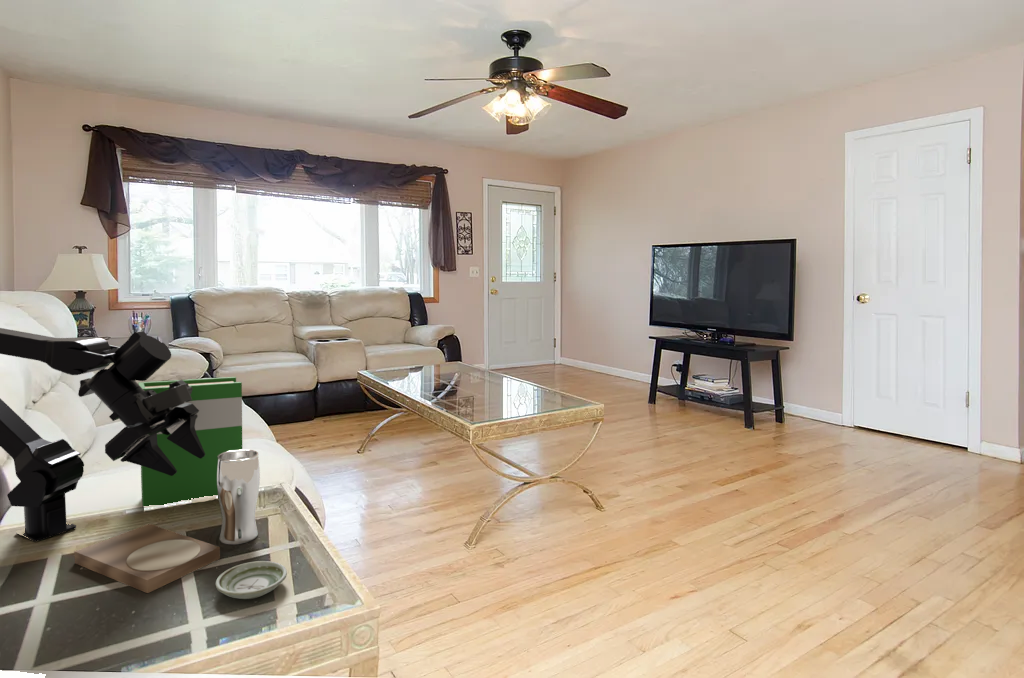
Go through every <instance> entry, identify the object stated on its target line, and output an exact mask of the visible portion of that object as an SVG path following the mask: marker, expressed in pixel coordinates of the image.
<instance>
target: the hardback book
mask: <svg viewBox="0 0 1024 678" xmlns="http://www.w3.org/2000/svg"><path fill="white" fill-rule="evenodd" d="M179 380H180V379H175V380H160V381H159V380H158V381H157V380H156V381H138V382H137V383H138V384H139V385H140V387H141V388H142V389H143V390H144V391H146V390H150V389H151V390H154V391H155V392H156V393H157V394H158V393H160V392H163V391H166V390H168V389H169V384H171V383H174V382H176V381H179ZM182 380H183V381H184V382H185V383H188V385H189V387H192V388H193V391H192V393H191V398H192V400H191V401H189V402H184V403H192V404H193V405H194V406H195V407H196V408H197V409H198V410H199V412H198V413H197V415H198V418H197V419H196V421H195V430H196V433H197V436H198V438H199V440H200V443H201V445H202V447H203V450H204V452H205V456H204V457H203V458H201V459H200V458H198V457H196V456H194V455H192V454H191V453H189V452H188V451H186V450H184V449H183V448H181V447H179V446H178V445H176V444H174V443H173V442H171V441H169V440H168V439H167V437H168V436H169V435H165V434H162V433H161V432H159V433H157V444H158V446H159V448H160V449H161V450H162V451H163V453H164V454H165V455H166V456H167V458H168V459H169V460H170V461H171V463H172V464H173V465H174V467H175V468H176V470H177V473H176V474H174V475H173V476H170V475H167V474H164V473H162V472H159V471H156V470H153V469H150V468H147V467H144V466H141V465H140V475H141V476H140V479H141V485H140V487H141V503H142V507H143V506H149V505H164V504H167V503H173V502H178V501H181V500H188V499H189V500H191V498H193V499H194V498H199V497H204V496H213V495H218V494H217V488H216V468H217V456H218V455H219V454H221V453H223V452H227V451H231V450H240V449H243V387H242V386H243V383H242V382H241V381H237V376H229V377H228V376H226V377H209V378H193V379H192V378H191V379H182ZM181 405H182V404H181ZM176 407H177V406H176ZM174 408H175V407H173V409H174ZM170 435H171V434H170Z"/></svg>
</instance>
